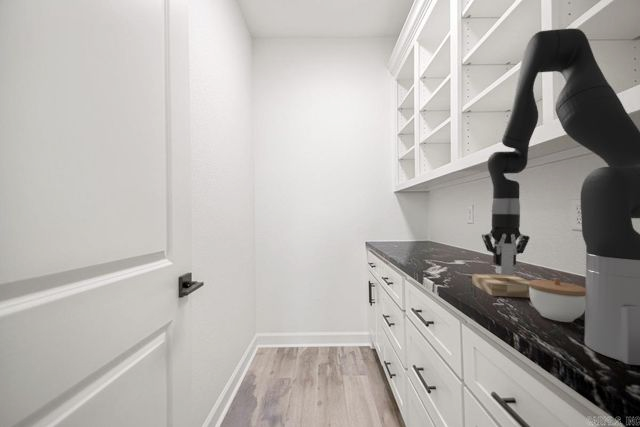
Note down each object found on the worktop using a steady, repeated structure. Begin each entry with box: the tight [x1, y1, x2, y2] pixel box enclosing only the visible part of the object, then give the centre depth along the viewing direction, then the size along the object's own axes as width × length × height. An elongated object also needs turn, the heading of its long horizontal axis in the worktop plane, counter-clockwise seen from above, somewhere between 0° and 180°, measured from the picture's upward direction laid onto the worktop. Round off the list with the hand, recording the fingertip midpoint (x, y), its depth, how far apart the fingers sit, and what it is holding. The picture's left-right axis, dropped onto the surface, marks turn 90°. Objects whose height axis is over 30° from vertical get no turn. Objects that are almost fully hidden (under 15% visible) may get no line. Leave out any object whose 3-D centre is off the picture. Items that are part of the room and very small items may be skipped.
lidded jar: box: [528, 277, 585, 323], centre depth 65 cm, size 11×11×9 cm
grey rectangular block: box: [495, 243, 514, 276], centre depth 88 cm, size 4×4×10 cm
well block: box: [471, 273, 530, 298], centre depth 88 cm, size 14×14×4 cm
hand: (504, 265), depth 88 cm, fingers closed on grey rectangular block, 3 cm apart
